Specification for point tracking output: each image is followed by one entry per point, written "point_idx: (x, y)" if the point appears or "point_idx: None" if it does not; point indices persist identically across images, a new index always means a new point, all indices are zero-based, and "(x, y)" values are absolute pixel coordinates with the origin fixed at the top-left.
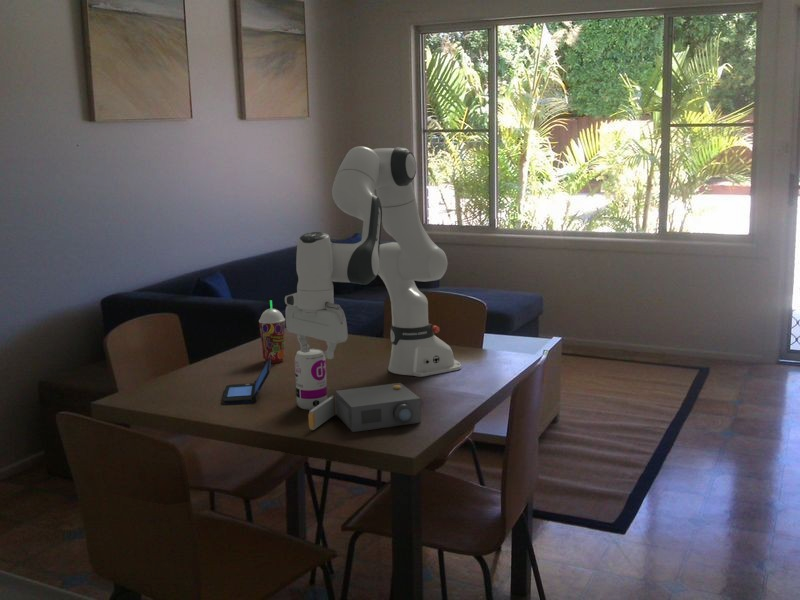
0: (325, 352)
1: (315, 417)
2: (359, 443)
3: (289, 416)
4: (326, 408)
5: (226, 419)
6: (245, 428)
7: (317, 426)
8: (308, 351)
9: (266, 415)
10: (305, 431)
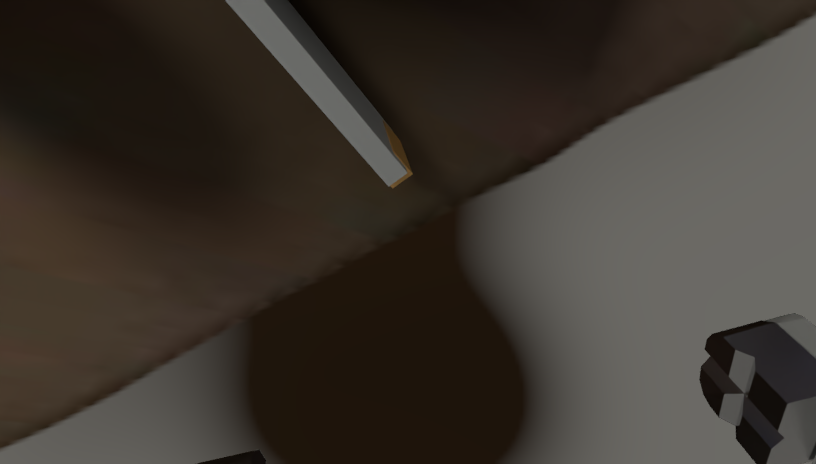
0: (784, 457)
1: (383, 132)
2: (680, 22)
3: (83, 135)
4: (281, 9)
5: (18, 370)
6: (186, 339)
7: (365, 97)
8: (258, 458)
9: (15, 225)
10: None
